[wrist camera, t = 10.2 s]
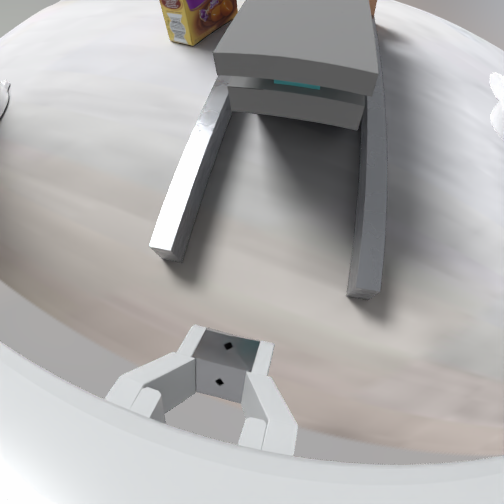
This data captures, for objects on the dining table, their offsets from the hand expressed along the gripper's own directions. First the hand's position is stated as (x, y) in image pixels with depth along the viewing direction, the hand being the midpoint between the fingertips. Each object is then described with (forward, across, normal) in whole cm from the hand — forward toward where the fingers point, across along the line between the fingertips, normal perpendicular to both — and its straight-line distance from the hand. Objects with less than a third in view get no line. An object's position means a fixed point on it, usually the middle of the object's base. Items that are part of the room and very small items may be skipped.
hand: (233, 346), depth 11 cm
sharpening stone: (+24, 0, +12) cm, 26 cm away
